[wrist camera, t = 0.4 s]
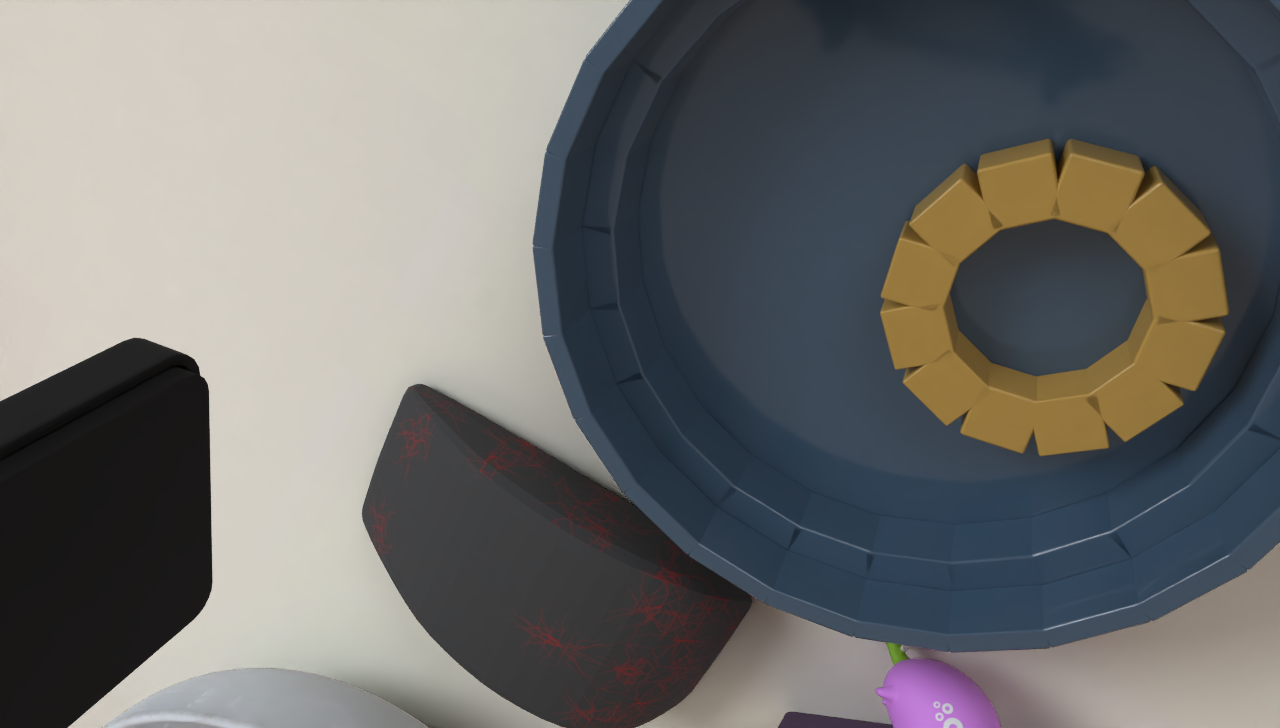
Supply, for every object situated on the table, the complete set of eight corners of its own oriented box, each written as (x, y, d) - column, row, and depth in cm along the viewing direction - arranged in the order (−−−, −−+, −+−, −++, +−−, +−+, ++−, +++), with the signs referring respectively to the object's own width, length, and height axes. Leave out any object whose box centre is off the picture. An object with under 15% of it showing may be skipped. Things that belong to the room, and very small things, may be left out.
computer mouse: (675, 714, 38) (638, 797, 34) (363, 520, 39) (298, 583, 35) (776, 568, 33) (746, 647, 30) (424, 357, 35) (357, 410, 31)
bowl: (665, -221, 25) (597, -238, 21) (1543, -44, 21) (1657, -25, 17) (556, 433, 34) (495, 504, 30) (1152, 644, 30) (1169, 756, 26)
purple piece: (735, 840, 30) (1074, 901, 26) (734, 663, 29) (1078, 704, 26) (787, 742, 36) (1066, 781, 33) (786, 595, 36) (1068, 621, 32)
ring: (943, 104, 26) (937, 117, 24) (1276, 190, 24) (1290, 209, 22) (855, 373, 29) (846, 398, 28) (1138, 464, 28) (1144, 494, 26)
